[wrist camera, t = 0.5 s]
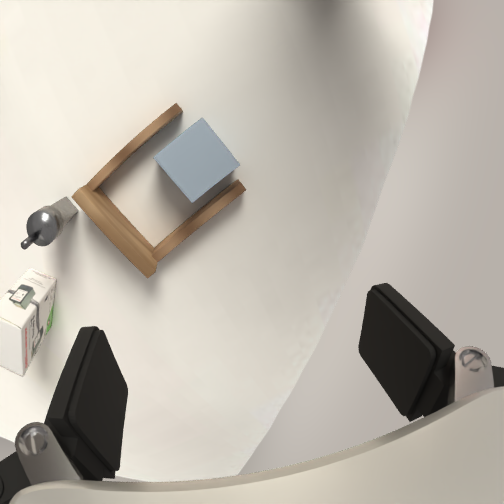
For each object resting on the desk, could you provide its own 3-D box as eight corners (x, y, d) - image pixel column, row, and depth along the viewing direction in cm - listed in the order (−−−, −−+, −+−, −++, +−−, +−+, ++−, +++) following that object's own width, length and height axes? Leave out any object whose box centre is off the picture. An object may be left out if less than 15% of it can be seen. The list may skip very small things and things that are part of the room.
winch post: (66, 189, 30) (27, 210, 21) (84, 210, 32) (51, 238, 23) (49, 209, 30) (10, 236, 22) (67, 230, 32) (32, 262, 23)
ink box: (52, 326, 36) (24, 380, 26) (25, 314, 35) (-8, 364, 24) (57, 278, 34) (21, 329, 23) (28, 265, 32) (-14, 311, 22)
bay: (177, 105, 29) (174, 100, 25) (242, 185, 34) (250, 194, 30) (86, 187, 31) (71, 196, 26) (152, 259, 36) (147, 278, 31)
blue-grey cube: (201, 119, 31) (202, 117, 26) (233, 160, 33) (240, 164, 29) (158, 154, 31) (153, 157, 27) (192, 193, 34) (192, 203, 29)
